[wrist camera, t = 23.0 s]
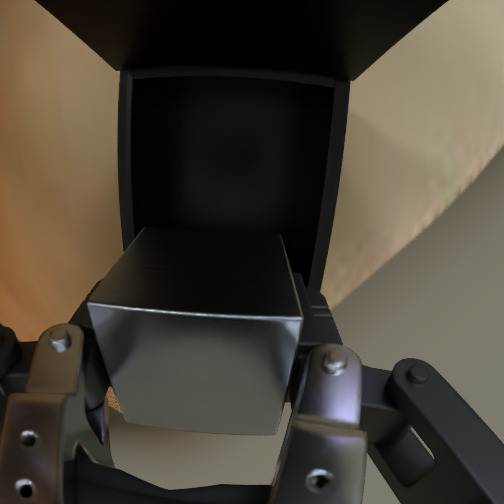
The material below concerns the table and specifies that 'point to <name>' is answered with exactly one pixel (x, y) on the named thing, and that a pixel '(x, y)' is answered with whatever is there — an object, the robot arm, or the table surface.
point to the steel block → (200, 330)
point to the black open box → (233, 154)
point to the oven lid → (243, 32)
